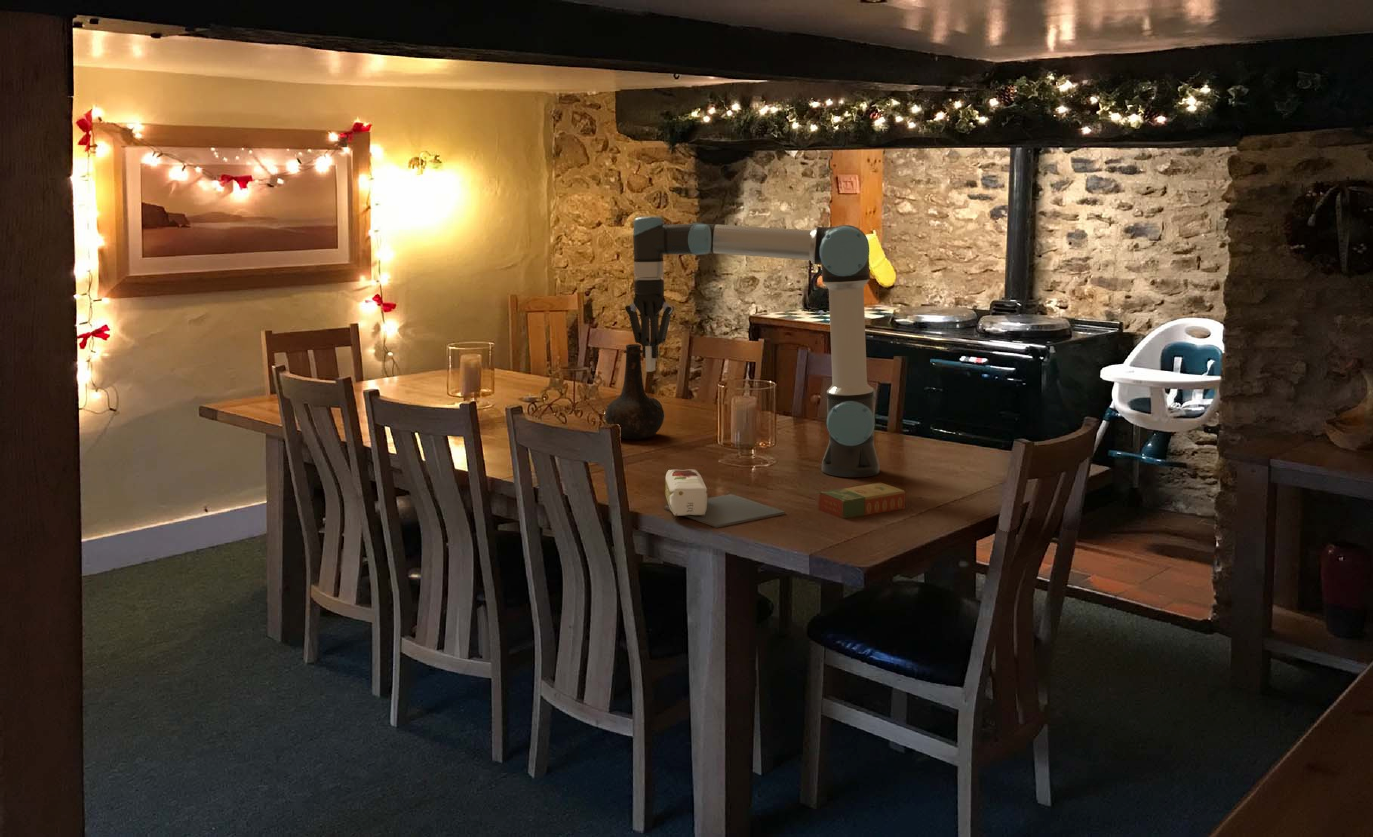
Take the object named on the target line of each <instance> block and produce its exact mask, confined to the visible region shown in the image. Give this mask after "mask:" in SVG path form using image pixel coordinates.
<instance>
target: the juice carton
mask: <svg viewBox="0 0 1373 837" xmlns="http://www.w3.org/2000/svg"><path fill="white" fill-rule="evenodd" d="M664 480H665V484H664V485H665V488H664V489H665V493H664V494H665V498H666V501H667V504H668V505H669V507H670V510H671V511H670V512H671V513H672V514H673V516H674V517H675V516H676V517H677V516H683V515H705V512H706V509H707V498H708V488H707V486H706V484H705V482H704V479H703V477H702V474H700V473H699V472H698V470H697V469H668V471H666V474H665V479H664Z"/></svg>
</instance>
